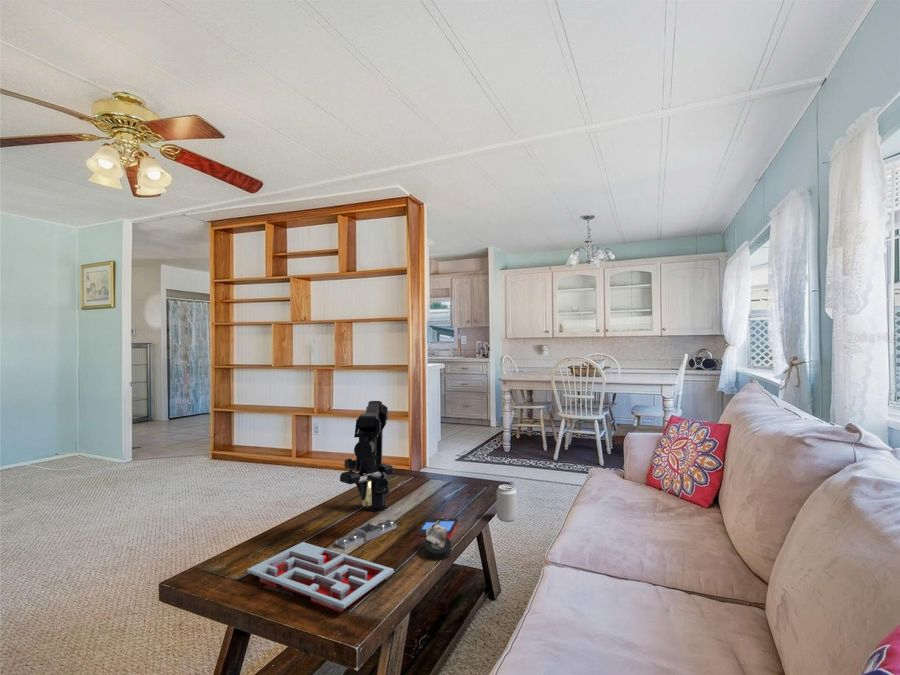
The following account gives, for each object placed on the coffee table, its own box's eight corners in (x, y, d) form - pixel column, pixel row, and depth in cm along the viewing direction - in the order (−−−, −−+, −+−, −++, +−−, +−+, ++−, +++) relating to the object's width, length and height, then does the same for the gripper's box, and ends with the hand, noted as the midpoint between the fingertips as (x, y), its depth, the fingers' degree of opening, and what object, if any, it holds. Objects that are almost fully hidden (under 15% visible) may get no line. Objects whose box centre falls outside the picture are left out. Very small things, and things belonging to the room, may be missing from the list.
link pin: (367, 502, 152) (368, 479, 152) (373, 504, 150) (373, 480, 150) (360, 504, 150) (361, 481, 150) (366, 506, 148) (366, 482, 148)
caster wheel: (440, 570, 131) (415, 556, 137) (462, 549, 140) (438, 536, 146) (440, 551, 130) (414, 537, 136) (462, 531, 138) (437, 518, 144)
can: (510, 524, 160) (510, 490, 160) (492, 519, 164) (492, 487, 165) (520, 518, 166) (520, 485, 166) (503, 513, 170) (503, 482, 170)
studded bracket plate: (387, 523, 160) (387, 516, 160) (398, 528, 156) (398, 520, 156) (333, 544, 143) (333, 536, 143) (344, 550, 139) (344, 542, 139)
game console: (426, 521, 164) (426, 515, 164) (459, 524, 161) (459, 518, 161) (414, 537, 150) (414, 530, 150) (450, 541, 147) (450, 534, 147)
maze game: (393, 580, 121) (393, 568, 121) (343, 618, 104) (344, 605, 104) (302, 552, 138) (302, 541, 138) (247, 580, 121) (247, 569, 121)
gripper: (374, 445, 163) (373, 488, 162) (330, 453, 149) (329, 500, 148) (394, 449, 156) (393, 494, 155) (350, 458, 142) (349, 507, 141)
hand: (367, 498), depth 150 cm, fingers closed on link pin, 3 cm apart
